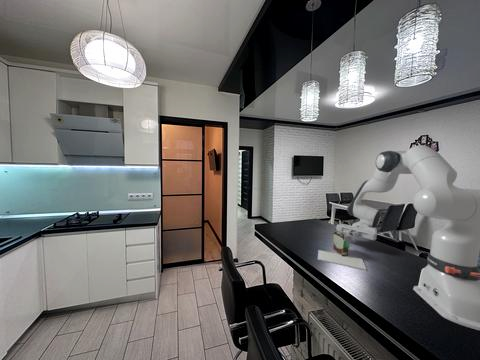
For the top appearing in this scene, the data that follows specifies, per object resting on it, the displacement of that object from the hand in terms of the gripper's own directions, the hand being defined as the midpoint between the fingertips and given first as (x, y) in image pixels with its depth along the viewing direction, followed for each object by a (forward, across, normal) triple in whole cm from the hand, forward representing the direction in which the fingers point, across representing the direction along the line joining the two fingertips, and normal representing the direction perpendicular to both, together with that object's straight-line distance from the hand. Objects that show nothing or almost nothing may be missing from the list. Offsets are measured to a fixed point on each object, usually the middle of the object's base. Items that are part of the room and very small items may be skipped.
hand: (351, 233), depth 106 cm
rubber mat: (+18, +2, +9) cm, 20 cm away
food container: (+9, 0, +9) cm, 13 cm away
